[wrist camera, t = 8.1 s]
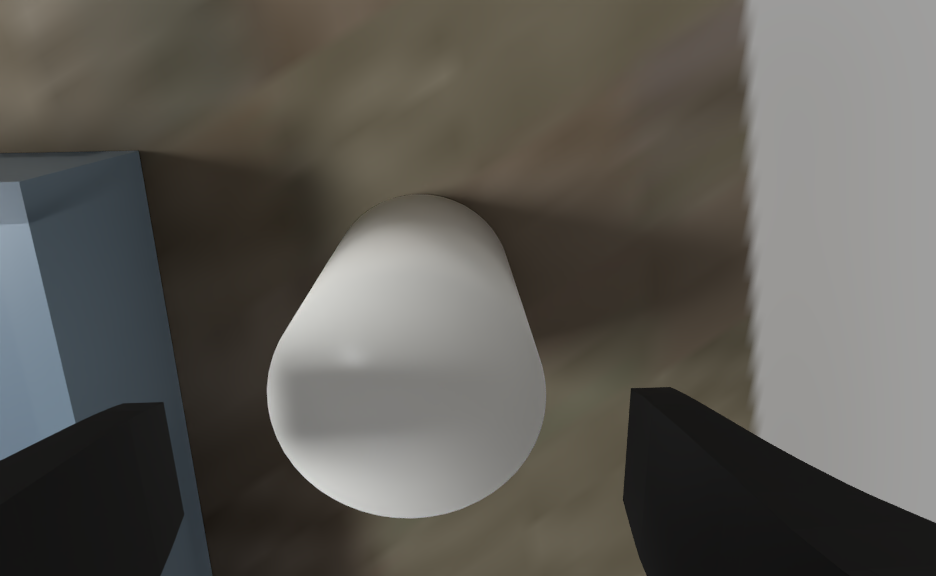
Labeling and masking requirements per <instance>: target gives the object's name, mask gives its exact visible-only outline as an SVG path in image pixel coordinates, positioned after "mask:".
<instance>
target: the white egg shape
mask: <svg viewBox="0 0 936 576" xmlns="http://www.w3.org/2000/svg"><path fill="white" fill-rule="evenodd" d="M267 401H268V410H269V415H270V420H271V424H272V426H273V429H274V432H275V435H276V438H277V440H278V442H279V443H280V445H281V447H282V449H283V451H284V453H285V454H286V456H287V457H288V458H289V460H290V461H291V463H292V464H293V466H294V467H295V468H296V469H297V470H298V471H299V472H300V473H301V474H302V475H303V476H304V478H305V479H307V480H308V481H309V482H310V483H311V484H313V485H314V486H315V487H316V488H317V489H319V490H320V491H322V492H323V493H325V494H326V495H328V496H329V497H331V498H333V499H335V500H337V501H339V502H341V503H343V504H344V505H346V506H349V507H352V508H355V509H357V510H360V511H363V512H367V513H371V514H375V515H379V516H386V517H394V518H422V517H432V516H437V515H442V514H447V513H450V512H453V511H456V510H459V509H462V508H465V507H467V506H469V505H471V504H474V503H476V502H478V501H480V500H481V499H483V498H485V497H486V496H488V495H490V494H491V493H493V492H494V491H496V490H497V489H498V488H499V487H501V486H502V485H503V484H504V483H506V482H507V481H508V480H509V479H510V478H511V477H512V476H513V475H514V474H515V473H516V472H517V471H518V469H519V468H520V467H521V465H522V464H523V463H524V461H525V460H526V459H527V457H528V455H529V454H530V452H531V450H532V448H533V447H534V445H535V443H536V440H537V438H538V435H539V433H540V430H541V427H542V423H543V419H544V415H545V405H546V383H545V377H544V372H543V367H542V363H541V360H540V357H539V354H538V351H537V348H536V345H535V342H534V339H533V336H532V333H531V330H530V327H529V324H528V320H527V317H526V314H525V311H524V308H523V305H522V302H521V299H520V296H519V293H518V290H517V287H516V284H515V281H514V278H513V275H512V272H511V269H510V265H509V262H508V259H507V256H506V254H505V251H504V248H503V246H502V244H501V242H500V240H499V238H498V236H497V235H496V234H495V232H494V231H493V229H492V228H491V227H490V226H489V225H488V223H487V222H486V221H485V220H484V219H483V218H482V217H480V216H479V215H478V214H477V213H476V212H474V211H473V210H471V209H470V208H468V207H466V206H465V205H463V204H461V203H458V202H456V201H454V200H451V199H448V198H445V197H441V196H435V195H427V194H413V195H404V196H400V197H395V198H392V199H389V200H387V201H384V202H382V203H380V204H378V205H376V206H374V207H372V208H371V209H369V210H368V211H366V212H365V213H364V214H362V215H361V216H360V217H359V218H358V219H357V220H356V221H355V222H354V223H353V224H352V225H351V227H350V228H349V229H348V230H347V232H346V233H345V235H344V237H343V238H342V240H341V242H340V243H339V245H338V246H337V248H336V250H335V251H334V253H333V254H332V256H331V258H330V259H329V261H328V263H327V264H326V266H325V267H324V269H323V271H322V272H321V274H320V275H319V277H318V279H317V280H316V282H315V284H314V285H313V287H312V288H311V290H310V292H309V293H308V295H307V296H306V298H305V300H304V301H303V303H302V305H301V306H300V308H299V309H298V311H297V313H296V314H295V316H294V317H293V319H292V321H291V322H290V324H289V326H288V327H287V329H286V330H285V332H284V334H283V335H282V337H281V339H280V340H279V343H278V345H277V347H276V350H275V352H274V355H273V357H272V361H271V365H270V369H269V373H268V383H267Z"/></svg>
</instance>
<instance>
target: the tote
mask: <svg viewBox="0 0 936 576" xmlns="http://www.w3.org/2000/svg"><path fill="white" fill-rule="evenodd" d="M149 402H164V408H165V413H166V418H167V424H168V429H169V435H170V440H171V445H172V451H173V456H174V461H175V467H176V472H177V478H178V483H179V488H180V494H181V499H182V505H183V510H184V517H183V520H182V522H181V525H180V528H179V530H178V533H177V536H176V539H175V541H174V544H173V547H172V549H171V552H170V554H169V557H168V559H167V561H166V564H165V566H164V569H163V571H162V574H161V576H212V570H211V565H210V559H209V553H208V547H207V542H206V536H205V530H204V524H203V519H202V513H201V507H200V501H199V496H198V490H197V484H196V478H195V473H194V467H193V461H192V455H191V450H190V444H189V438H188V432H187V427H186V421H185V415H184V409H183V404H182V398H181V392H180V386H179V381H178V375H177V369H176V363H175V358H174V352H173V346H172V340H171V335H170V329H169V323H168V317H167V311H166V306H165V300H164V294H163V288H162V283H161V277H160V271H159V265H158V260H157V254H156V248H155V242H154V237H153V231H152V225H151V219H150V214H149V208H148V202H147V196H146V191H145V185H144V179H143V173H142V168H141V162H140V156H139V151H96V152H45V153H0V460H2V459H5V458H7V457H9V456H11V455H13V454H15V453H17V452H19V451H21V450H23V449H25V448H27V447H29V446H31V445H33V444H35V443H37V442H39V441H41V440H43V439H45V438H47V437H49V436H51V435H53V434H55V433H57V432H59V431H61V430H63V429H65V428H67V427H69V426H71V425H73V424H75V423H77V422H79V421H81V420H84V419H86V418H88V417H90V416H92V415H94V414H97V413H99V412H101V411H104V410H106V409H109V408H111V407H114V406H117V405H120V404H123V403H149Z"/></svg>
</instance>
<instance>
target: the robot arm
mask: <svg viewBox="0 0 936 576" xmlns="http://www.w3.org/2000/svg"><path fill="white" fill-rule="evenodd" d="M623 502H624V505H625V509H626V513H627V516H628V520H629V524H630V527H631V531H632V534H633V538H634V541H635V545H636V548H637V551H638V555H639V558H640V560H641V563H642V565H643V568H644V570H645V572H646V575H647V576H936V523H934V522H932V521H930V520H927V519H925V518H923V517H920V516H918V515H916V514H913V513H911V512H909V511H906V510H904V509H902V508H899V507H897V506H895V505H892V504H890V503H888V502H885V501H883V500H880V499H878V498H876V497H874V496H872V495H869V494H867V493H865V492H863V491H861V490H859V489H856V488H855V487H852V486H850V485H848V484H846V483H844V482H842V481H840V480H838V479H836V478H834V477H832V476H830V475H828V474H826V473H824V472H822V471H821V470H819V469H817V468H815V467H813V466H811V465H809V464H807V463H805V462H803V461H801V460H799V459H797V458H796V457H794V456H792V455H790V454H788V453H786V452H785V451H783V450H781V449H779V448H777V447H776V446H774V445H772V444H770V443H768V442H767V441H765V440H763V439H761V438H760V437H758V436H756V435H754V434H753V433H751V432H749V431H748V430H746V429H744V428H742V427H741V426H739V425H737V424H736V423H734V422H732V421H731V420H729V419H727V418H725V417H724V416H722V415H720V414H719V413H717V412H715V411H714V410H712V409H710V408H708V407H707V406H705V405H703V404H702V403H700V402H698V401H696V400H695V399H693V398H691V397H689V396H687V395H685V394H684V393H682V392H680V391H677V390H675V389H673V388H671V387H660V388H631V395H630V409H629V423H628V437H627V451H626V465H625V479H624V493H623ZM183 517H184V510H183V505H182V499H181V494H180V488H179V483H178V478H177V472H176V467H175V461H174V456H173V451H172V445H171V440H170V435H169V429H168V424H167V418H166V413H165V408H164V402H149V403H123V404H120V405H117V406H114V407H111V408H109V409H106V410H104V411H101V412H99V413H97V414H94V415H92V416H90V417H88V418H86V419H84V420H81V421H79V422H77V423H75V424H73V425H71V426H69V427H67V428H65V429H63V430H61V431H59V432H57V433H55V434H53V435H51V436H49V437H47V438H45V439H43V440H41V441H39V442H37V443H35V444H33V445H31V446H29V447H27V448H25V449H23V450H21V451H19V452H17V453H15V454H13V455H11V456H9V457H7V458H5V459H2V460H0V576H161V574H162V571H163V569H164V566H165V564H166V561H167V559H168V557H169V554H170V552H171V549H172V547H173V544H174V541H175V539H176V536H177V533H178V530H179V528H180V525H181V522H182V520H183Z"/></svg>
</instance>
